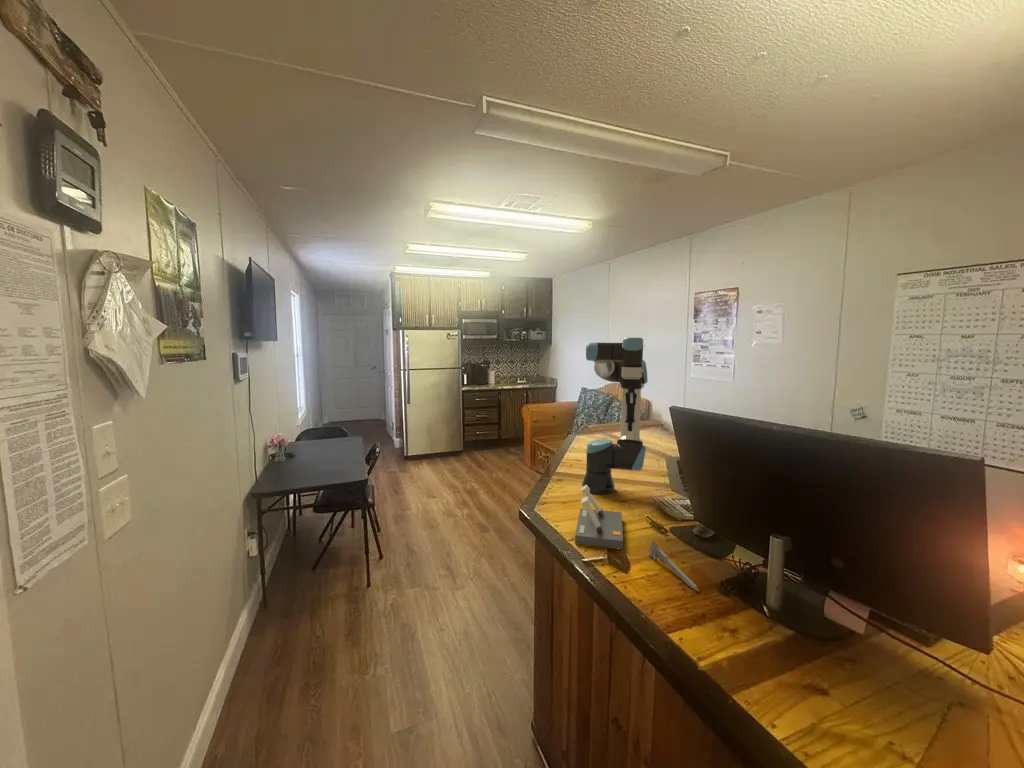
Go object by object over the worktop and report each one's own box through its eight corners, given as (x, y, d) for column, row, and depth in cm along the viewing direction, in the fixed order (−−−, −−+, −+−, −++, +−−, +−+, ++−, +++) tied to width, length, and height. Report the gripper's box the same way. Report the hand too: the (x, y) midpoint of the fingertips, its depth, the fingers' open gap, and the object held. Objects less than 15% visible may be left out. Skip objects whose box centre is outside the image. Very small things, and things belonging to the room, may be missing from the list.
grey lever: (597, 529, 146) (581, 498, 146) (603, 526, 145) (587, 496, 146) (597, 534, 142) (581, 502, 142) (603, 531, 142) (587, 500, 142)
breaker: (599, 513, 160) (581, 487, 160) (604, 510, 159) (586, 484, 160) (598, 517, 156) (581, 490, 156) (604, 515, 155) (586, 487, 156)
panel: (580, 515, 164) (580, 507, 164) (621, 519, 161) (621, 511, 160) (574, 543, 141) (575, 534, 141) (622, 549, 137) (623, 540, 137)
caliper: (648, 557, 133) (649, 539, 132) (651, 557, 133) (652, 538, 132) (697, 594, 114) (698, 572, 113) (700, 593, 114) (701, 572, 113)
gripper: (643, 379, 148) (640, 443, 151) (640, 377, 161) (638, 435, 163) (621, 379, 150) (619, 442, 153) (621, 376, 163) (619, 434, 165)
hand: (629, 438), depth 158 cm, fingers closed
